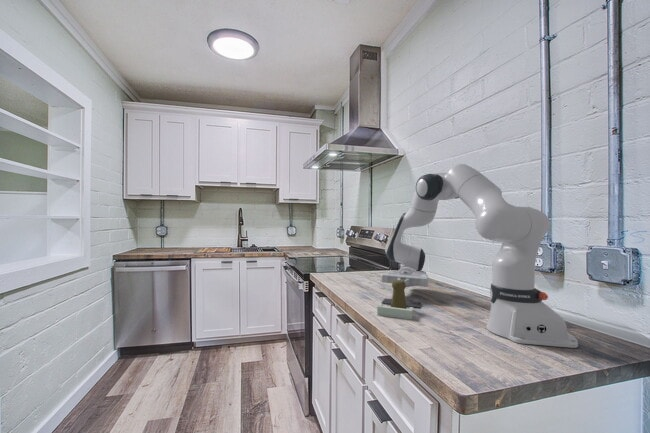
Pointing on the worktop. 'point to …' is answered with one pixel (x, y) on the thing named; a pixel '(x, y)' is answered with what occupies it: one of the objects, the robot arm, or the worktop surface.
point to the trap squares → (408, 303)
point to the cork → (398, 294)
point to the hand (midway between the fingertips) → (401, 282)
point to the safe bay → (395, 312)
